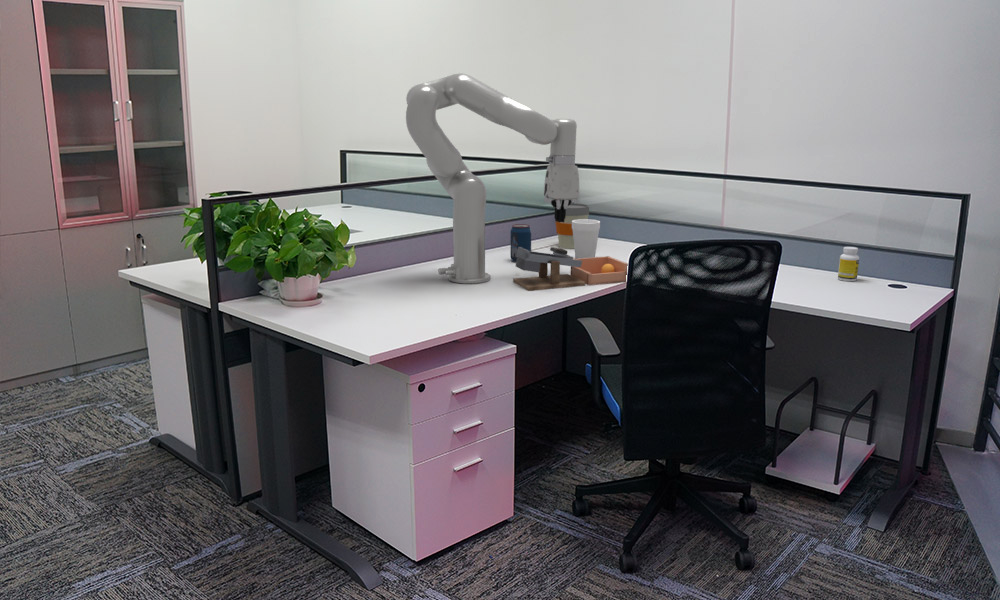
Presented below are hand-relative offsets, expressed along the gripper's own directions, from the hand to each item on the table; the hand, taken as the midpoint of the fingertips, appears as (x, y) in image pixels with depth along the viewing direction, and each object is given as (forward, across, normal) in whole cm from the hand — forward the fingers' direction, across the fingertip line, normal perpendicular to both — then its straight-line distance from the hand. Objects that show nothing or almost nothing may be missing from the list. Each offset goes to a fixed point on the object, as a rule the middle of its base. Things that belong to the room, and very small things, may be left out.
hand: (559, 221), depth 253 cm
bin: (+16, +9, -10) cm, 21 cm away
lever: (+13, -8, -6) cm, 17 cm away
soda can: (+17, -2, +24) cm, 29 cm away
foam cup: (+16, +18, +18) cm, 30 cm away
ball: (+14, +12, -10) cm, 21 cm away
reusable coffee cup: (+16, +24, +41) cm, 50 cm away
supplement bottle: (+14, +78, -38) cm, 88 cm away
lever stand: (+17, -8, -10) cm, 21 cm away
